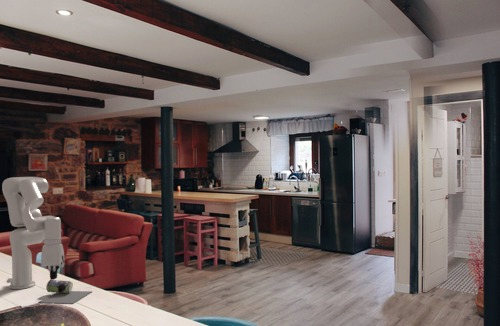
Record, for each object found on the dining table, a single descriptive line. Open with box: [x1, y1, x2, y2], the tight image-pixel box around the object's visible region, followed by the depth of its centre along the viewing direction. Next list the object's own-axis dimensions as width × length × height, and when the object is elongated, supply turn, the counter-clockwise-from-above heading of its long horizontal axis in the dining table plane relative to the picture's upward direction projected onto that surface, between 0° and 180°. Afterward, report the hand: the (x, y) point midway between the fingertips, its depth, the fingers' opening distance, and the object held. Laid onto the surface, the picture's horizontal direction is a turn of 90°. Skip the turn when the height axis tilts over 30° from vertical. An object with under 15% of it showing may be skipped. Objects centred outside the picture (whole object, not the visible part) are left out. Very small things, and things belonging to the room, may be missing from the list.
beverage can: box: [45, 279, 74, 293], centre depth 212 cm, size 6×7×12 cm
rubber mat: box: [37, 290, 93, 305], centre depth 206 cm, size 18×18×1 cm
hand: (53, 278), depth 207 cm, fingers closed
